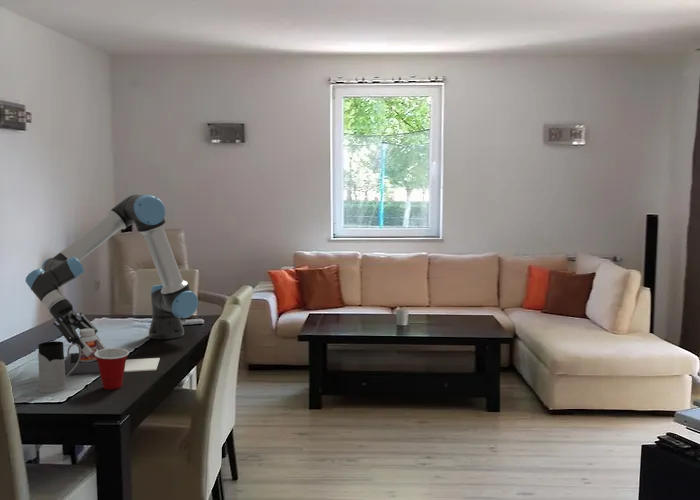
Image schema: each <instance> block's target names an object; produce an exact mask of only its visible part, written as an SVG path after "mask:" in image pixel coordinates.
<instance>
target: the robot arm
mask: <svg viewBox="0 0 700 500" xmlns="http://www.w3.org/2000/svg"><path fill="white" fill-rule="evenodd" d="M165 215H166V206H165V205H164V203H163V201H162V200H161V199H160V198H158V197H156V196H155V195H151V194H131V195H129V196H127V197H125V198H124V199H123V200H121V201H120V202H119V203H118V204H116V205H115V206H114V207H113V208H111V209H109V211H108V215H107V216H105V217H103V218H102V219H101V220H100V221H99V222H97V223H96V224H95V225H94V226H92V227H91V228H90V229H88V230H87V231H85V233H83V234H81V236H79V237H77V238H76V239H75V240H74V241H72V243H70V244H69V245H67V246H65V248H64V249H63V250H61V251H59V252H58V253H57V254H56V255H55V256H54V257H50V258H47V259H45V260H44V261H43V263H42V264H41V268H37V269H33V270H32V271H31V272H29V273H27V276H26V277H25V283H26V284H27V286H28V287H29V289H30V291H31V292H33V294H34V295H35V296H36V297H37V299H38V300H39V301H40V302H41V303H42V304H43V305H44V307H45V308H46V309H47V311H49V313H50V315H51V316H52V317H53V318H54V319H55V320H54V322H53V325H54V326H55V327H57V329H58V330H59V332H60V333H61V334H62V335H63V337H64V338H65V340H66V341H67V343H69V344H71V345H72V344H78V345H80V347H81V350H82V351H83V353H84V354H85V355H86V356H87V357H88V356H89V355H90V354H91V353H92V352H93V351H92V350H91V349H90V348H89V346H88V345H87V344H86V343H85V342H84V340H83V339H82V338H80V339H79V337H80V335H79V334H78V333H77V330H76V328H77V329H78V330H79V331H80V330H81V329H88V328H92V329H95V334H94V336H95V337H96V340H97V351H99V350H102V349H106V346H105V345H104V343H103V342H102V341H101V339H100V338H99V337H98V336H97V333H98V331H99V330H98V329H97V327H95V326H94V324H93V323H92V322H91V321H90V320H89V319H88V318H87V317H86V315H85V314H84V312H83V311H81V312H80V313H77V312H76V310H73V309H74V308H73V307H74V306H73V304H72V303H71V302H70V301H69V300H68V299H67V297H66V296H65V295H64V293H63V292H62V291H61V290H60V288H61V287H62V286H64V285H66V284H68V283H70V282H71V281H73V280H75V279H76V278H78V277H79V276H81V275H83V273H84V272H85V270H84V269H85V268H84V266H83V264H82V263H81V261H82V260H83V259H85V258H86V257H87V256H89V255H90V254H92V252H94V251H95V250H97V248H98V247H101V245H102V244H104V243H105V242H106V241H108V240H109V239H110V238H111V237H113V236H114V235H115V234H116V233H118V232H119V231H120V230H125V229H127V228H128V227H130V226H131V225H135V228H136V230H137V233H140V235H141V234H142V235H143V238H144V241H145V244H146V246H147V249H148V251H149V254H150V257H151V258H152V259H151V260H152V261H153V264H154V267H155V269H156V272H157V275H158V278H159V280H160V283H161V284H154V285H153V286H151V291H150V298H151V315H152V316H151V317H152V319H151V322H150V327H149V329H148V338H150V339H153V340H169V339H170V340H171V339H176V338H177V339H178V338H181V337H183V336H184V335H185V328H184V326H183V323H182V320H181V318H182V319H186V318H189V317H191V316H192V315H194V314H195V313H196V312H197V309H198V307H199V299H198V296H197V294H196V293H195V292H194V291H191V288H190V285H189V282H188V281H187V280H185V279H183V276H182V274H181V271H180V268H179V265H178V263H177V261H176V258H175V255H174V252H173V250H172V247H171V244H170V241H169V239H168V236H167V233H166V231H165V225H166V223H167V222H166V220H165ZM78 345H76V346H77V348H79V346H78Z"/></svg>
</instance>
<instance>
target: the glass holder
mask: <svg viewBox="0 0 700 500" xmlns="http://www.w3.org/2000/svg"><path fill="white" fill-rule="evenodd" d="M77 345H78V344H72V343H71V344H70V345H69V346H68V349H67V355H66V356H65V353H64V352H65V351H64V350H65V349H64V342H62V341H56V340H54V341H47V342H45V341H44V342H41V343H39V344H38V353H37V356H38V357H37V359H38V360H37V361H38V377H39V388H38V392H40V393H44V394H45V393H46V394H51V393H58V392H61V391H65V390H66V389H67V388H68V385H67V383H66V382H67V378H68V376H70V375H69V374H70V373H71V372H72V371H73V370H74V369H75V367H76V366H77V365H78V363H79V361H80V358H81V347H80V345H78V346H79V347H78V346H77ZM73 346H77V347H78V350H79V349H80V355H79V359H78V361H77V363H76V365H75V366H74V367H73V369H72V370H71V371H70V372H69V373H68V374H67V375H65V359H66V358H68V357H69V354H70V351H71V348H72V347H73Z"/></svg>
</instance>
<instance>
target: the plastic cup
mask: <svg viewBox="0 0 700 500" xmlns="http://www.w3.org/2000/svg"><path fill="white" fill-rule="evenodd" d="M94 354H95V356H96V358H97V362H98V366H99V371H100V374H99V375H100V379H101V382H102V383H101V384H102V386H103V389H104V390H108V391H109V390H117V389H120V388H122V387H123V381H124V376H125V375H124V374H125V372H124V370H125V363H126V360H127V359H128V356H129V354H130V352H129V350H127V349H126V348H125V349H123V348H117V347H115V348H113V347H112V348H109V347H108V348H104V349H102V350H99V351H98V350H97V351H96V352H95V353H94Z"/></svg>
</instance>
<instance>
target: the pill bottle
mask: <svg viewBox="0 0 700 500" xmlns="http://www.w3.org/2000/svg"><path fill="white" fill-rule="evenodd" d="M94 334H95V329H92V328H88V329H81V330H80V329H79V339H80V338H82V339H83V340H84V342H85V343H86V344H87V345H88V346H89V348H90V349H91V350H92V351H93V352H92V353H91V354H90V355H89V356H88V357H87V356H86V355H85V354H84V353H83V351H82V350H81V358H80V361H81V362H92V361H95V360H97V358H96V356H95V354H94V353H95V352H96V351H98V349H97V340H96V337H95V336H94ZM78 353H79V355H80V349H79V348H78Z"/></svg>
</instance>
